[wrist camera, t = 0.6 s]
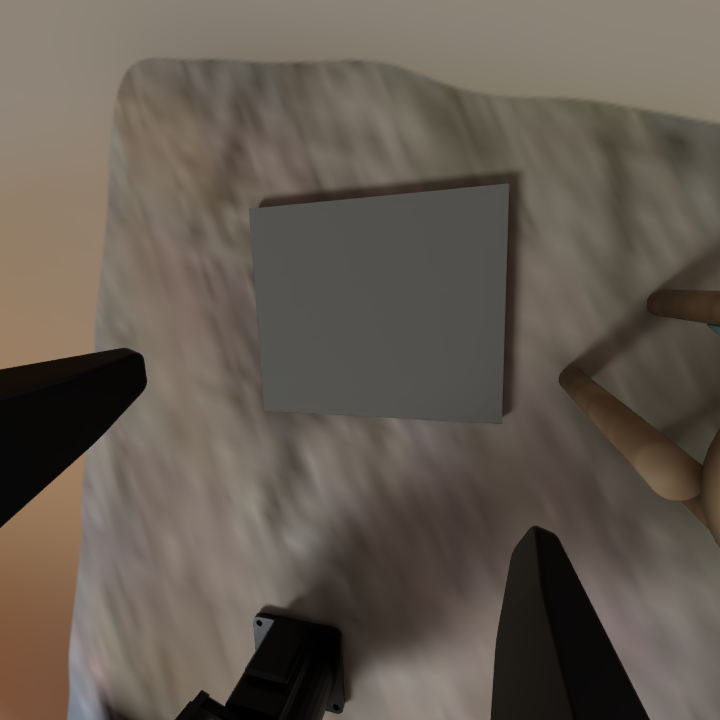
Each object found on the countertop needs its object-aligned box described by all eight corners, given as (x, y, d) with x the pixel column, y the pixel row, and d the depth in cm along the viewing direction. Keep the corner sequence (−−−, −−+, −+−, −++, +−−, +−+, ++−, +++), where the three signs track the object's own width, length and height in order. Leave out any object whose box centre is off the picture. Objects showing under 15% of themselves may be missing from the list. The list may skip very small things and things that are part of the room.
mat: (501, 420, 22) (501, 423, 21) (268, 408, 25) (264, 410, 25) (508, 185, 19) (509, 183, 19) (253, 210, 23) (248, 208, 23)
